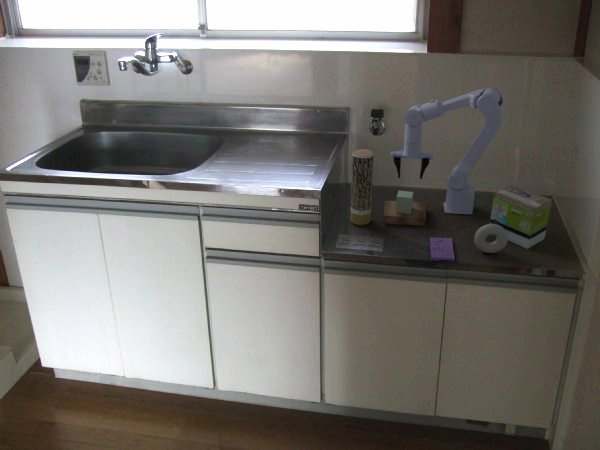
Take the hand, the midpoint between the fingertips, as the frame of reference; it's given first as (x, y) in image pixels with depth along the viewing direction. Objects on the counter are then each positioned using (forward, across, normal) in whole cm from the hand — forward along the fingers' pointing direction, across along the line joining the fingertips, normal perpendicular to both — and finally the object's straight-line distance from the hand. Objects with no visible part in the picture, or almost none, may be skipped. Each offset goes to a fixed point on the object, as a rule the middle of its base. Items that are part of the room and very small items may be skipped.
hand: (410, 177), depth 228 cm
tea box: (+10, -34, +23) cm, 42 cm away
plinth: (+9, +2, +13) cm, 16 cm away
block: (+6, +2, +14) cm, 15 cm away
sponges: (+10, -9, +35) cm, 38 cm away
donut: (+10, -24, +35) cm, 44 cm away
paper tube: (+10, +17, +18) cm, 26 cm away
